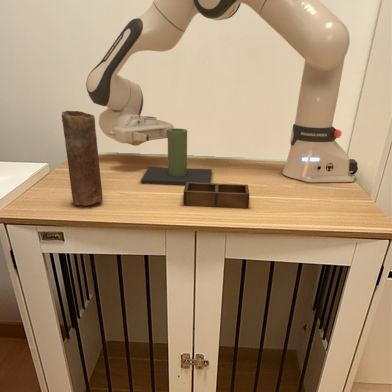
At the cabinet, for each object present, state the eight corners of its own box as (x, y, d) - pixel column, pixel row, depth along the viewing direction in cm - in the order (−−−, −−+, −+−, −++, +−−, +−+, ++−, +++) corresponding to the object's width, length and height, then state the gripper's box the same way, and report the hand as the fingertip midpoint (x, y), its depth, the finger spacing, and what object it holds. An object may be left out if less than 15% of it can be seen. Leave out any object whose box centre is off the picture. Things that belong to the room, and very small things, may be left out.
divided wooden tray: (246, 198, 110) (248, 184, 108) (248, 208, 103) (249, 194, 101) (186, 195, 110) (186, 182, 108) (183, 205, 103) (183, 191, 101)
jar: (187, 172, 126) (187, 128, 119) (185, 177, 122) (186, 132, 114) (169, 171, 126) (168, 128, 119) (167, 176, 122) (166, 131, 115)
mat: (211, 172, 131) (211, 169, 130) (209, 186, 118) (210, 182, 117) (149, 169, 131) (149, 166, 131) (141, 183, 118) (140, 179, 118)
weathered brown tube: (91, 197, 107) (80, 109, 95) (110, 203, 103) (101, 112, 91) (67, 203, 102) (52, 111, 90) (85, 210, 99) (73, 115, 87)
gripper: (104, 121, 124) (130, 127, 116) (157, 116, 135) (185, 122, 127) (106, 143, 128) (131, 152, 120) (158, 137, 139) (184, 144, 131)
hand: (159, 136), depth 123 cm, fingers open, 8 cm apart
